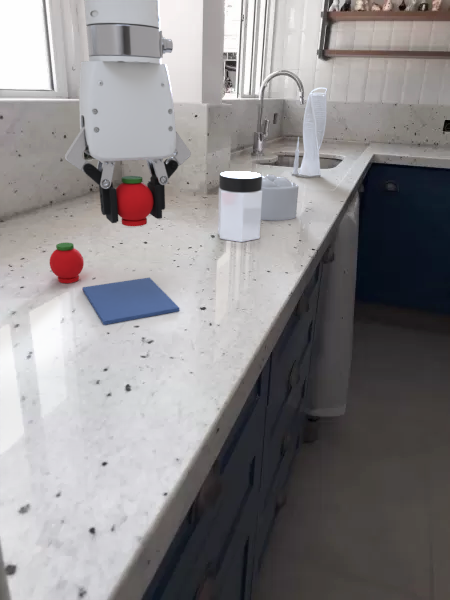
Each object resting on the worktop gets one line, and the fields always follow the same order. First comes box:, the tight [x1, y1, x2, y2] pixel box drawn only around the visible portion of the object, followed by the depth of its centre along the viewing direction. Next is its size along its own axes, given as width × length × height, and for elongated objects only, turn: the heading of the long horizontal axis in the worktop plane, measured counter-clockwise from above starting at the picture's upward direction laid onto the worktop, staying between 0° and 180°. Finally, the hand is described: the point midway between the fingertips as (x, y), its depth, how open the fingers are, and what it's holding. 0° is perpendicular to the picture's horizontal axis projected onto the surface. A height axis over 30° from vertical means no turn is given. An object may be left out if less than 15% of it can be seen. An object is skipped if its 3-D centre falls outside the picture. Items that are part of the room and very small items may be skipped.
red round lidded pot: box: [115, 175, 154, 227], centre depth 57 cm, size 5×5×5 cm
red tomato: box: [49, 242, 85, 284], centre depth 71 cm, size 5×5×6 cm
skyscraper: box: [291, 86, 328, 179], centre depth 161 cm, size 8×8×28 cm
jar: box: [217, 170, 263, 243], centre depth 94 cm, size 9×8×12 cm
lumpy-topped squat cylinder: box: [261, 174, 299, 221], centre depth 111 cm, size 10×13×9 cm
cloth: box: [82, 277, 180, 326], centre depth 66 cm, size 10×12×1 cm
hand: (134, 216), depth 58 cm, fingers closed on red round lidded pot, 4 cm apart
